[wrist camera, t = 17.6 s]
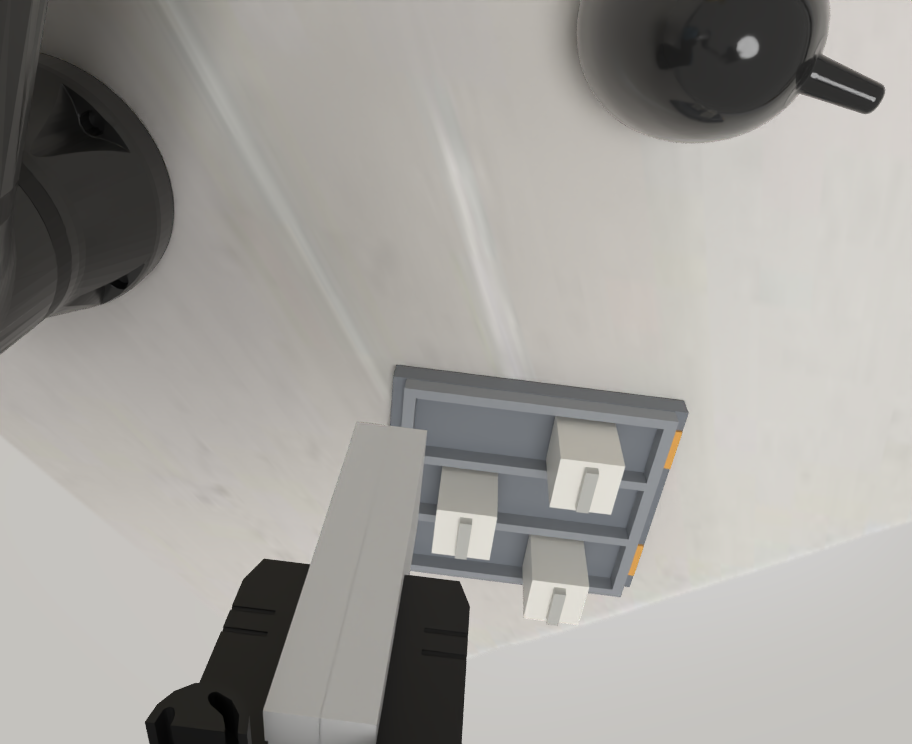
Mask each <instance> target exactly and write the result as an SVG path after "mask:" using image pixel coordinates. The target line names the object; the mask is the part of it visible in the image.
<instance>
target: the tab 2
mask: <svg viewBox="0 0 912 744" xmlns="http://www.w3.org/2000/svg"><path fill="white" fill-rule="evenodd" d="M546 466H547V480H548V494H549V507H552V508H560V509H568V510H576V512H580V513H588V514H589V512H592V513H600V514H608V515H611V513H612V510H613V506H614V503H615V500H616V496H617V493H618V490H619V486H620V483H621V479H622V476H623V473H624V469H625V463H624V459H623V454H622V450H621V445H620V441H619V437H618V432H617V428H616V423H610V422H601V421H593V420H585V419H577V418H569V417H561V416H555V420H554V425H553V429H552V434H551V438H550V443H549V448H548V452H547V457H546Z"/></svg>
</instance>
